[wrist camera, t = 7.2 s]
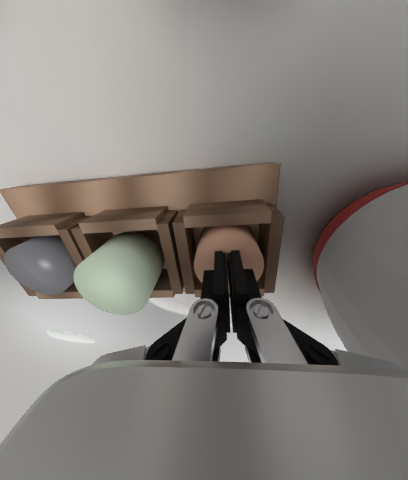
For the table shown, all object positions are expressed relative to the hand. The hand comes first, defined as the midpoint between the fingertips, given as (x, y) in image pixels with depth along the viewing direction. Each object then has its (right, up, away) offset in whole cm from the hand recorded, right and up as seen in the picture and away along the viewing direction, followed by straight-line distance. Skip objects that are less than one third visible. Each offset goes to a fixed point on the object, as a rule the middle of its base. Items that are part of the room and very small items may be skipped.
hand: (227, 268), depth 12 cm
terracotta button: (0, +2, +3) cm, 4 cm away
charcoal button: (-15, +1, +5) cm, 15 cm away
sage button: (-7, 0, +2) cm, 8 cm away
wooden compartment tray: (-7, +2, +6) cm, 9 cm away
